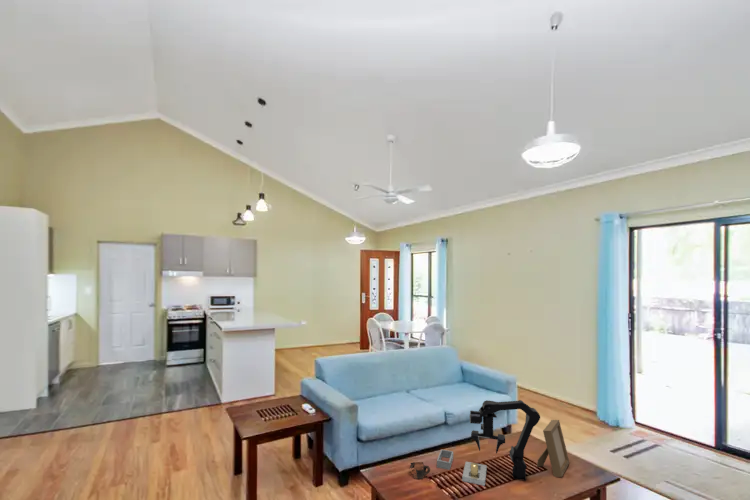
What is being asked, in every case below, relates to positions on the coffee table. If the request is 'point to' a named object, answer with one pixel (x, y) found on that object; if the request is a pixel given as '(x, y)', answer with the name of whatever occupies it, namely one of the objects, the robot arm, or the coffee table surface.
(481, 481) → the plate
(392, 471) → the coffee table surface
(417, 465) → the pottery mug
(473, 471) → the pale yellow rod
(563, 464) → the photo frame
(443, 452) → the gray hollow rectangular block
